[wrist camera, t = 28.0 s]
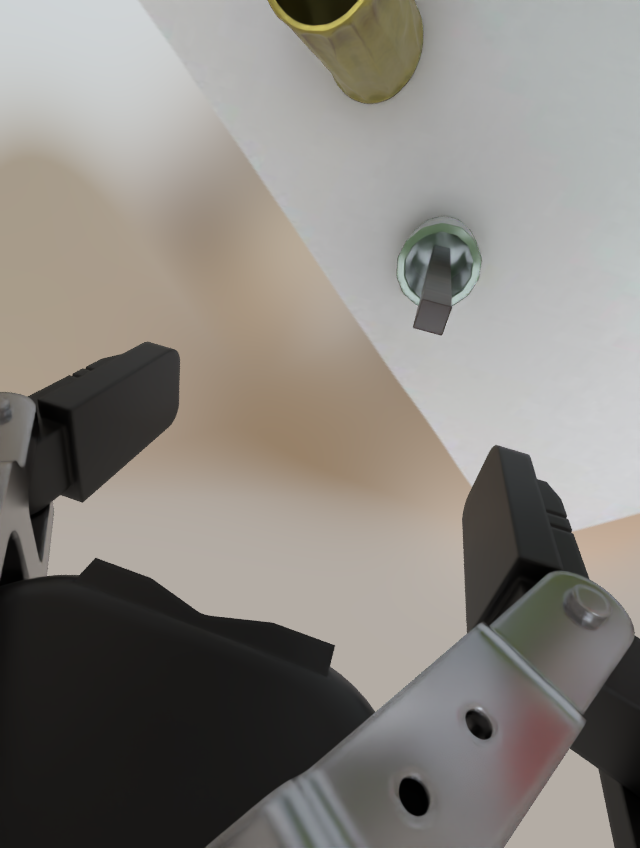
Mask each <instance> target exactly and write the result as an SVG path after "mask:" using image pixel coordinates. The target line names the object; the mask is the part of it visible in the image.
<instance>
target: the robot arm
mask: <svg viewBox="0 0 640 848" xmlns="http://www.w3.org/2000/svg"><path fill="white" fill-rule="evenodd" d="M179 373H180V357H179V354H178V352H177V351H176V350H174V349H171V348H168V347H164V346H161V345H158V344H154V343H151V342H144V343H142V344H140V345H139V346H137V347H135V348H133V349H131V350H129V351H127V352H125V353H123V354H121V355H116V356H112V357H107V358H103V359H100V360H98V361H97V362H95V363H93V364H91V365H89V366H87V367H86V369H81V370H79V371H77V372H75V373H73V376H70V375H69V376H67V377H65V378H63V379H61V380H59V381H57V382H55V383H53V384H52V385H50V386H48V387H46V388H44V389H42V390H40V391H38V392H36V393H34V394H32V395H30V396H28V397H26V396H24V395H21V394H16V393H9V392H0V848H504V846H505V845H506V843H507V842H508V840H509V839H510V837H511V836H512V834H513V833H514V831H515V830H516V828H517V826H518V825H519V824H520V822H521V821H522V819H523V818H524V816H525V815H526V813H527V812H528V810H529V809H530V807H531V806H532V804H533V803H534V801H535V800H536V798H537V796H538V795H539V793H540V792H541V791H542V789H543V788H544V786H545V784H546V783H547V781H548V780H549V778H550V777H551V775H552V774H553V772H554V771H555V769H556V768H557V766H558V765H559V763H560V762H561V760H562V759H563V757H564V756H565V754H566V753H567V751H568V750H569V748H570V749H571V750H573V751H574V752H576V753H577V754H579V755H580V756H581V757H583V758H584V759H586V760H587V761H589V762H590V763H591V764H593V765H594V766H596V767H597V768H598V769H599V773H600V778H601V783H602V788H603V793H604V798H605V802H606V808H607V813H608V817H609V822H610V827H611V832H612V837H613V842H614V847H615V848H640V639H639V638H638V637H636V636H635V635H634V634H635V632H634V627H633V624H632V621H631V619H630V617H629V615H628V614H627V612H626V611H625V609H624V608H623V607H622V605H621V604H620V603H619V602H618V601H617V600H616V599H615V598H614V597H613V596H612V595H611V594H610V593H609V592H607V591H606V590H605V589H604V588H602V587H601V586H599V585H598V584H596V583H594V582H593V581H591V580H590V579H589V577H588V574H587V571H586V568H585V565H584V563H583V560H582V557H581V554H580V551H579V548H578V546H577V543H576V540H575V537H574V534H572V533H571V531H572V529H571V526H570V523H569V520H568V519H566V517H567V515H566V512H565V509H564V506H563V503H562V501H561V499H560V497H559V496H558V495H557V494H556V493H555V492H554V490H553V489H552V488H551V487H550V486H549V484H548V483H547V482H545V481H541V480H538V479H537V478H536V475H535V471H534V468H533V465H532V461H531V458H530V456H529V455H528V454H525V453H521V452H518V451H515V450H511V449H508V448H504V447H501V446H498V445H495V446H494V447H493V448H492V449H491V450H490V452H489V454H488V456H487V458H486V460H485V462H484V464H483V466H482V468H481V470H480V472H479V474H478V476H477V478H476V481H475V483H474V485H473V487H472V489H471V491H470V493H469V495H468V498H467V500H466V503H465V507H464V511H463V518H462V524H463V549H464V572H465V596H466V621H467V634H466V635H465V636H464V637H463V638H461V639H460V640H459V641H458V642H457V643H456V644H455V645H453V646H452V647H451V648H450V649H449V650H447V651H446V652H445V653H444V654H443V655H442V656H440V657H439V658H438V659H437V660H436V661H435V662H434V663H432V664H431V665H430V666H429V667H428V668H426V669H425V670H424V671H423V672H422V673H421V674H419V675H418V676H417V677H416V678H415V679H414V680H412V681H411V682H410V683H409V684H408V685H407V686H405V687H404V688H403V689H402V690H401V691H400V692H398V694H396V695H395V696H394V697H393V698H392V699H390V700H389V701H388V702H387V703H386V704H385V705H383V706H382V707H381V708H380V709H379V710H377V711H376V712H375V711H374V710H373V708H372V707H371V705H370V704H369V703H368V701H367V700H366V699H365V698H364V697H363V696H362V695H361V694H360V692H359V691H358V690H357V689H356V688H355V687H354V686H353V685H352V684H351V683H350V682H349V681H348V680H346V679H345V678H344V677H343V676H342V675H341V674H339V673H338V672H337V671H335V670H334V669H333V668H331V667H330V663H331V659H332V655H333V651H334V647H335V645H332V644H330V643H327V642H324V641H321V640H319V639H316V638H313V637H310V636H308V635H305V634H302V633H299V632H296V631H294V630H291V629H289V628H286V627H283V626H280V625H277V624H275V623H270V622H261V621H252V620H242V619H234V618H225V617H214V616H208V615H204V614H201V613H199V612H198V611H196V610H195V609H193V608H192V607H191V606H189V605H188V604H186V603H185V602H184V601H182V600H181V599H180V598H178V597H177V596H175V595H174V594H173V593H171V592H170V591H168V590H167V589H165V588H164V587H163V586H161V585H160V584H158V583H157V582H156V581H154V580H153V579H151V578H149V577H146V576H144V575H141V574H138V573H135V572H132V571H130V570H127V569H124V568H122V567H119V566H116V565H114V564H111V563H108V562H105V561H102V560H100V559H97V558H95V559H94V560H93V561H92V562H91V564H89V566H88V567H87V568H86V569H85V570H84V571H83V572H82V573H81V574H80V575H54V576H47V570H48V561H49V552H50V543H51V533H52V525H53V516H54V508H53V502H52V501H53V500H54V499H56V498H57V497H58V496H59V495H62V496H66V497H68V498H71V499H74V500H77V501H80V502H84V501H85V500H86V499H87V498H88V497H90V496H91V495H92V494H93V493H94V492H95V491H96V490H98V489H99V488H100V487H101V486H102V485H103V484H104V483H106V482H107V481H108V480H109V479H110V478H111V477H112V476H113V475H115V474H116V473H117V472H118V471H119V470H120V469H121V468H123V467H124V466H125V465H126V464H127V463H128V462H129V461H131V460H132V459H133V458H134V457H135V456H136V455H137V454H139V452H141V451H142V450H143V449H144V448H145V447H147V446H148V445H149V444H150V443H151V442H152V441H153V440H155V439H156V438H157V437H158V436H159V435H160V434H161V433H162V432H163V431H165V430H166V429H167V428H168V427H169V426H170V425H171V424H172V422H173V421H174V419H175V417H176V414H177V411H178V406H179V375H180V374H179Z"/></svg>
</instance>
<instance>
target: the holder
mask: <svg viewBox="0 0 640 848" xmlns="http://www.w3.org/2000/svg"><path fill="white" fill-rule="evenodd" d="M434 245H438V246H442V247H446V248H450V257H451V295H452V306H453V305H455V304H456V303H458V302H459V301H461V300H462V299H464V298H465V297H467V296H468V295H469V293H470V292H471V290H472V289H473V287H474V286H475V284H476V282H477V281H478V279H479V275H480V268H481V261H482V259H481V255H480V252H479V249H478V246H477V243H476V240H475V238H474V236H473V234H472V232H471V230H470V229H469V228H468V227H467V226H466V225H465V224H464V223H462V222H461V221H460V220H458V219H455V218H452V217H446V216H441V217H436V218H432V219H429V220H427V221H425V222H424V223H423V224H421V225H420V226H419V227H418V228H417V229H415V230H414V232H413V233H412V234H411V236H410V237H409V238H408V240H407V241H406V243H405V245H404V247H403V248H402V250H401V252H400V254H399V256H398V260H397V279H398V282H399V284H400V287H401V289H402V291H403V293H404V295H406V296H407V297H408V298H409V299H410V300H411V301H412V302H414V303H415V304H416V305H419V301H420V297H421V293H422V289H423V285H424V281H425V277H426V273H427V269H428V265H429V261H430V258H431V254H432V251H433V248H434Z"/></svg>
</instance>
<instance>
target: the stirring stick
mask: <svg viewBox="0 0 640 848" xmlns="http://www.w3.org/2000/svg"><path fill="white" fill-rule="evenodd" d="M451 309H452V295H451V257H450V248H446V247H442V246H438V245H434V248H433V251H432V254H431V258H430V261H429V265H428V269H427V273H426V277H425V281H424V285H423V289H422V293H421V297H420V301H419V305H418V309H417V313H416V317H415V321H414V325H413V328H416V329H419V330H423V331H427V332H431V333H434V334H438V335H442V334H443V331H444V328H445V326H446V323H447V320H448V317H449V314H450V311H451Z"/></svg>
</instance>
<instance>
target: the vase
mask: <svg viewBox="0 0 640 848" xmlns="http://www.w3.org/2000/svg"><path fill="white" fill-rule="evenodd" d="M268 2H269V4H270V6H271V8H272V9H273V11H274V12H275V14H276V15H277V17H278V18H279V19H280V20H282V21H283V22H284V23H285V24H287V25H288V26H289V27H290V28H291V29H292V30H293V31H294V32H295V33H296V35H297V36H298V37H299V38H300V39H301V40H302V41H303V42H304V44H305V45H306V46H307V47H308V48H309V49H310V50H311V51H312V52H313V53H314V54H315V55H316V56H317V57H318V58H319V59H320V60H321V62H322V63H323V64H324V66H325V67H326V68H327V69H328V70H329V71H330V72H331V73H332V75H333V77H334V79H335V81H336V83H337V85H338V86H339V87H340V89H341V90H342V91H343V92H344V93H345V94H346V95H347V96H349V97H350V98H352V99H354V100H356V101H359V102H362V103H378V102H382V101H384V100H387V99H389V98H391V97H393V96H394V95H395V94H396V93H398V92H399V91H400V90H401V89H402V88H403V87H404V86H405V84H406V83H407V82H408V81H409V79H410V78H411V76H412V75H413V73H414V71H415V69H416V67H417V64H418V62H419V59H420V55H421V51H422V45H423V24H422V18H421V15H420V12H419V10H418V8H417V6H416V3H415V0H268Z"/></svg>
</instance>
